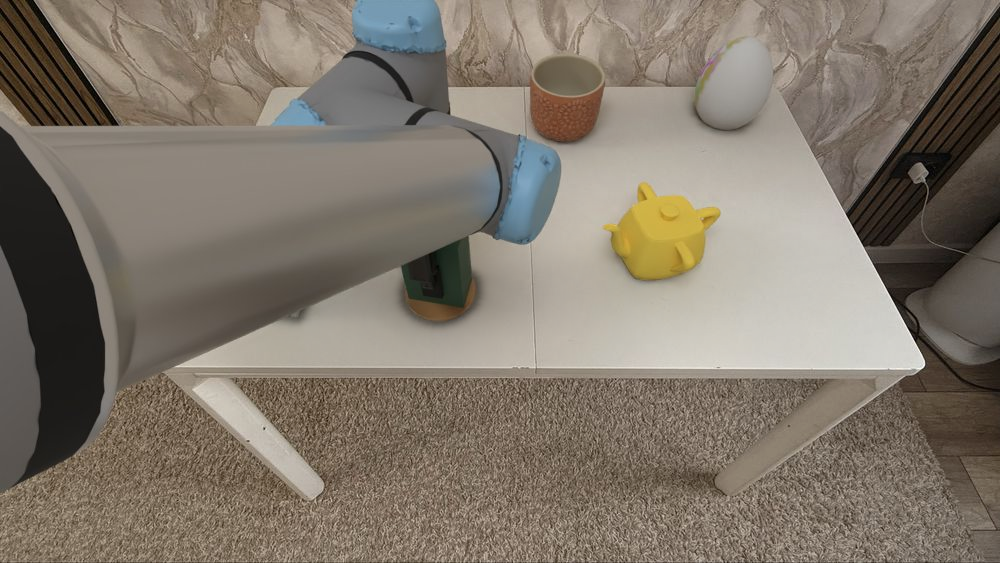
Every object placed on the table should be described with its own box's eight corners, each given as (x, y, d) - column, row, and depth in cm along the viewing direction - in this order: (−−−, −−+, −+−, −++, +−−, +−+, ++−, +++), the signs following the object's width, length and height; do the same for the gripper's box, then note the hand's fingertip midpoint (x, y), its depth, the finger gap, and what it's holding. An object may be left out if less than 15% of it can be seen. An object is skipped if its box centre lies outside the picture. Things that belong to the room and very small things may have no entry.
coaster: (440, 334, 75) (440, 332, 75) (390, 294, 79) (390, 291, 79) (490, 289, 80) (490, 286, 79) (440, 253, 84) (440, 250, 83)
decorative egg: (723, 88, 107) (751, 12, 95) (770, 123, 101) (807, 47, 89) (674, 108, 104) (696, 32, 92) (720, 146, 98) (751, 70, 85)
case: (463, 308, 77) (457, 248, 67) (408, 298, 78) (393, 238, 68) (472, 279, 80) (467, 218, 70) (418, 270, 81) (406, 209, 70)
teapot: (674, 310, 78) (695, 265, 69) (591, 270, 82) (602, 224, 73) (709, 246, 84) (732, 198, 76) (631, 212, 88) (645, 163, 80)
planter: (515, 118, 102) (517, 64, 93) (573, 99, 105) (580, 45, 97) (549, 159, 96) (554, 106, 87) (610, 137, 99) (620, 84, 90)
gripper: (429, 215, 53) (448, 338, 71) (472, 99, 63) (479, 233, 82) (353, 204, 53) (392, 328, 72) (408, 91, 64) (430, 226, 83)
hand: (438, 278), depth 77 cm, fingers closed on case, 5 cm apart
